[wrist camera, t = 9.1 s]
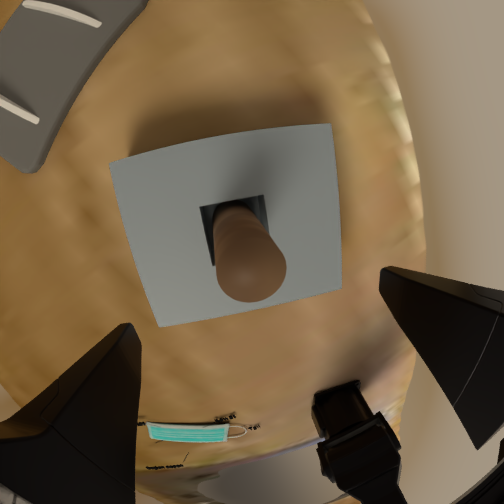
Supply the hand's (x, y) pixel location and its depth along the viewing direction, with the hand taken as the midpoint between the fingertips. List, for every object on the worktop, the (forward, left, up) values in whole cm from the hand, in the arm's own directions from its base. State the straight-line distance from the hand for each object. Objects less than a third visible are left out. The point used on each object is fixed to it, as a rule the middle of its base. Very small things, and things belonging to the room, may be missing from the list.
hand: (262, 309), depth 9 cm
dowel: (0, 0, -12) cm, 12 cm away
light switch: (+15, -19, -14) cm, 28 cm away
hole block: (0, 0, -13) cm, 13 cm away
